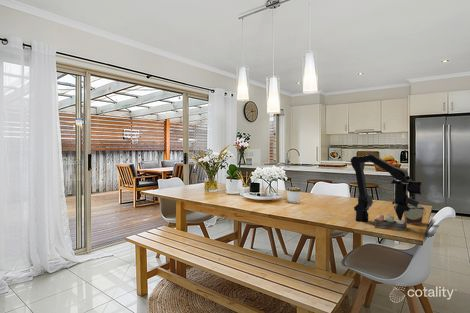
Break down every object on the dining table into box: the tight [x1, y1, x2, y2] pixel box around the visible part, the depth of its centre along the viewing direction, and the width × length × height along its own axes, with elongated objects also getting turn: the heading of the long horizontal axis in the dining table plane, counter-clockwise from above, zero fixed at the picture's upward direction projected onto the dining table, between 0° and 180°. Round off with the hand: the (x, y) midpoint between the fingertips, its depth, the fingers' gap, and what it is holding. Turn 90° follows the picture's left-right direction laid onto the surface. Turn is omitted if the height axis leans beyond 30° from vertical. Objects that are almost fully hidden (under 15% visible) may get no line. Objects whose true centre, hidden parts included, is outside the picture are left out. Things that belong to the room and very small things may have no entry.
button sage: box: [385, 215, 395, 223], centre depth 156 cm, size 4×4×3 cm
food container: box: [403, 204, 425, 224], centre depth 167 cm, size 12×6×10 cm, turn 92°
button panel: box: [374, 218, 408, 232], centre depth 156 cm, size 15×9×3 cm, turn 66°
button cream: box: [395, 218, 405, 224], centre depth 154 cm, size 4×4×3 cm
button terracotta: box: [376, 214, 385, 222], centre depth 158 cm, size 4×4×3 cm
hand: (400, 220), depth 154 cm, fingers closed, pressing on button cream
